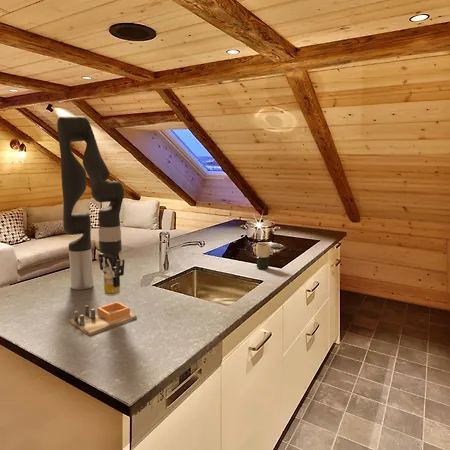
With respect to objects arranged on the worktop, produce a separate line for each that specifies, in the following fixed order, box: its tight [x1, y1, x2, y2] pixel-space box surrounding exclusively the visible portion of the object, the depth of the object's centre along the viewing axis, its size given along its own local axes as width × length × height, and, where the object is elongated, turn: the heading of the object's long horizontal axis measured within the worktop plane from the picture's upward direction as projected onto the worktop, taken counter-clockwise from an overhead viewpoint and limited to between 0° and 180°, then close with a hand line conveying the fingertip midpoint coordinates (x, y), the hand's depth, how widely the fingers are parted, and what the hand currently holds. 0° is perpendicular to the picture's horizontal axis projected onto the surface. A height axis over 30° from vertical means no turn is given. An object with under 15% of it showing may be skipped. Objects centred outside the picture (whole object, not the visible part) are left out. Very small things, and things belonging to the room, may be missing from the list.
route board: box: [69, 309, 138, 336], centre depth 130 cm, size 14×18×1 cm
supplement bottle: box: [103, 267, 121, 297], centre depth 131 cm, size 5×5×10 cm
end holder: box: [96, 301, 131, 321], centre depth 133 cm, size 8×8×2 cm
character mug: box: [252, 242, 274, 270], centre depth 193 cm, size 11×7×13 cm, turn 64°
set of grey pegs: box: [73, 304, 96, 326], centre depth 128 cm, size 7×6×4 cm
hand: (112, 284), depth 131 cm, fingers closed on supplement bottle, 5 cm apart
